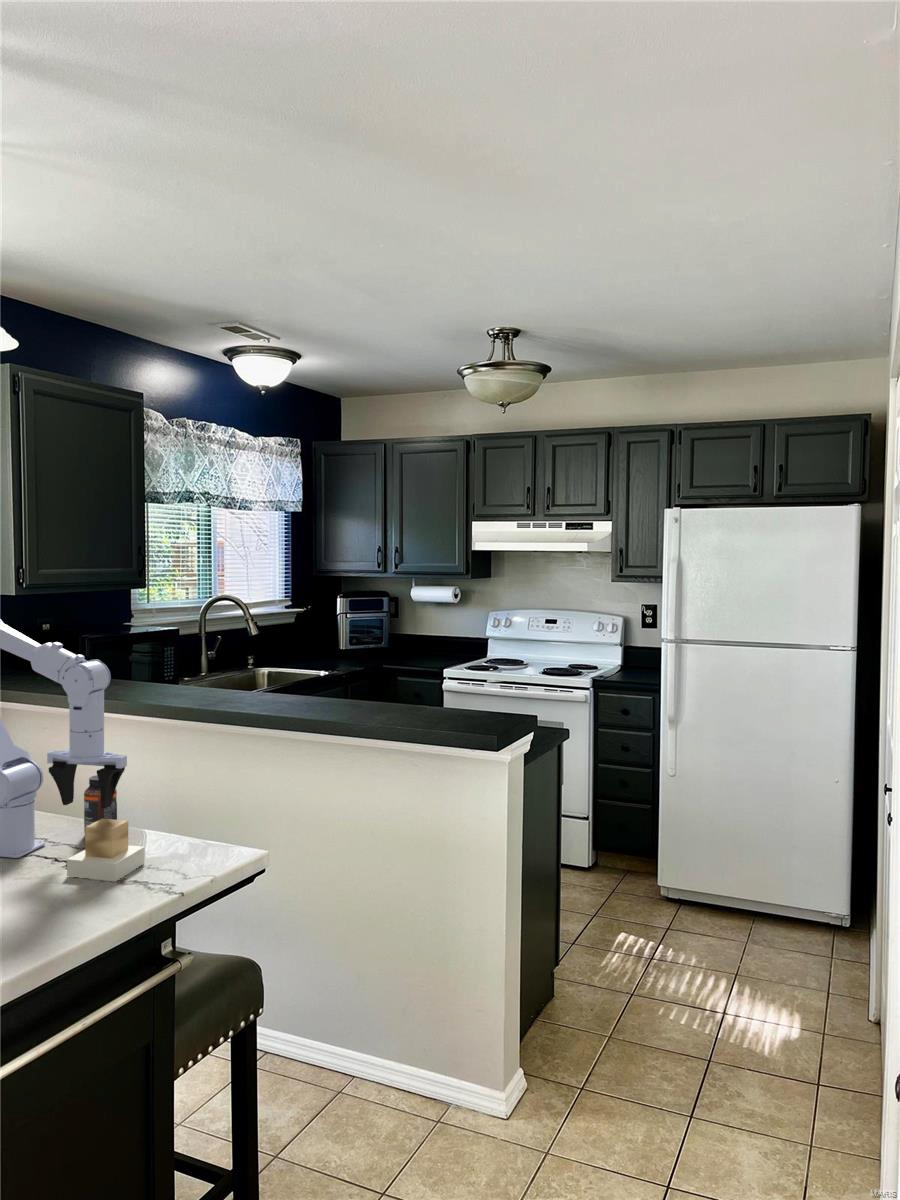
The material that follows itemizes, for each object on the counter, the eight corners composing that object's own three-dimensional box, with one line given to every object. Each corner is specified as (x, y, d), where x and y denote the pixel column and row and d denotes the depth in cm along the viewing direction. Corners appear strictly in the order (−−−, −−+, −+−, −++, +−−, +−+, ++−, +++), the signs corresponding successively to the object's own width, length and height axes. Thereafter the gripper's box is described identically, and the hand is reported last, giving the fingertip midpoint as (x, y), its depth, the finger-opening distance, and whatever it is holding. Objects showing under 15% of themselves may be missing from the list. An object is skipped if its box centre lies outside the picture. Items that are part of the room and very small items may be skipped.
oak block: (85, 856, 153) (85, 826, 152) (102, 846, 158) (102, 818, 157) (112, 858, 152) (112, 829, 151) (128, 849, 156) (128, 820, 156)
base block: (67, 876, 151) (66, 859, 151) (98, 859, 160) (98, 842, 160) (115, 881, 149) (115, 863, 149) (144, 863, 158) (144, 846, 158)
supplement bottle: (122, 830, 176) (122, 773, 176) (108, 840, 170) (108, 781, 170) (93, 829, 177) (93, 772, 176) (78, 838, 171) (77, 780, 170)
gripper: (35, 731, 157) (36, 808, 158) (111, 736, 154) (111, 814, 155) (60, 724, 164) (61, 797, 165) (133, 728, 161) (133, 803, 162)
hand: (87, 805), depth 160 cm, fingers open, 7 cm apart
